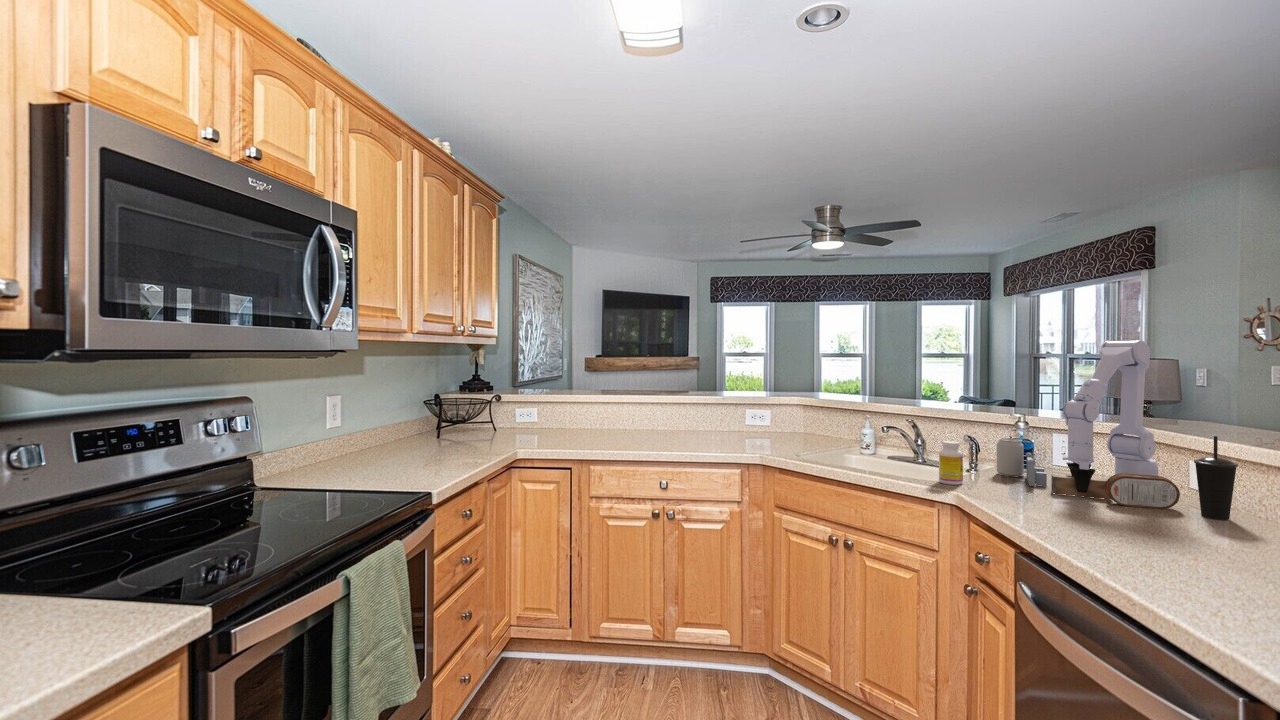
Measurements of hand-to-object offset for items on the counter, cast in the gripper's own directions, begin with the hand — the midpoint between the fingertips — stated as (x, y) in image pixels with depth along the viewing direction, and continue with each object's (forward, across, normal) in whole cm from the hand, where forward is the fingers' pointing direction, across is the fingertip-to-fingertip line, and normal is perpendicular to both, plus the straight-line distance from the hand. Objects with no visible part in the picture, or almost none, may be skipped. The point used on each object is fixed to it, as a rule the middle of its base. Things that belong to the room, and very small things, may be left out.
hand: (1080, 490), depth 161 cm
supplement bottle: (+2, 0, -32) cm, 32 cm away
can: (+2, -21, -16) cm, 26 cm away
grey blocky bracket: (+1, -12, -10) cm, 15 cm away
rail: (+2, 0, 0) cm, 2 cm away
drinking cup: (+2, +11, +25) cm, 27 cm away
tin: (+2, +7, +12) cm, 14 cm away
